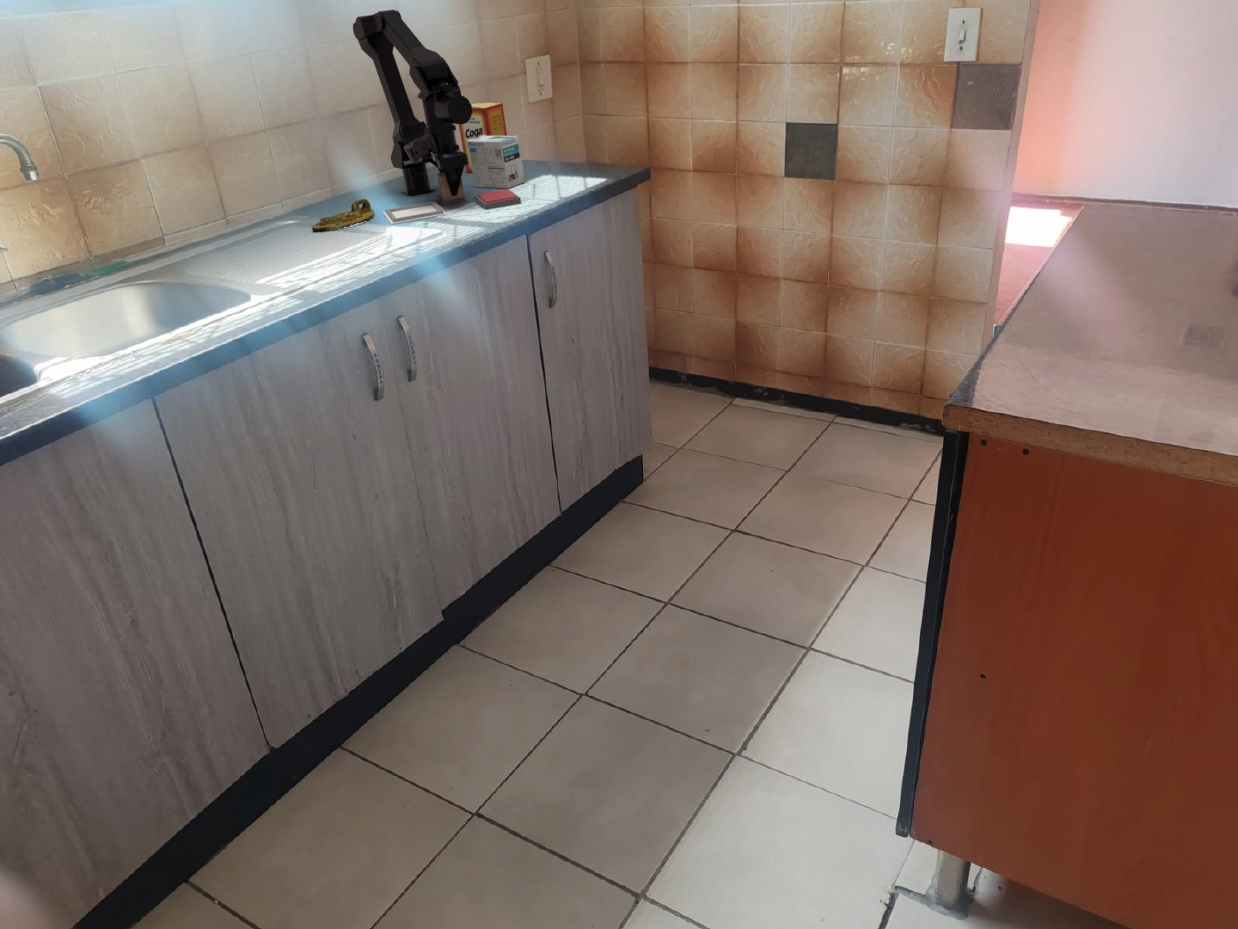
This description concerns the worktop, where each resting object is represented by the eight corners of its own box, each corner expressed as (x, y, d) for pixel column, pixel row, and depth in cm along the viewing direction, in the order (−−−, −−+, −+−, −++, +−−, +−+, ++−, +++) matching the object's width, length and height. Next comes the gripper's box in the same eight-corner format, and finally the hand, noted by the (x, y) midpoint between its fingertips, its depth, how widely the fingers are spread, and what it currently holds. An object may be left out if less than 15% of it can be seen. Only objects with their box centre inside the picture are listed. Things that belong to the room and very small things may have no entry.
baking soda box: (467, 172, 235) (455, 106, 228) (484, 167, 240) (473, 101, 232) (495, 174, 230) (484, 106, 223) (511, 168, 235) (502, 101, 227)
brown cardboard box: (441, 200, 211) (436, 173, 208) (461, 196, 212) (456, 170, 209) (445, 204, 207) (440, 176, 204) (465, 200, 208) (460, 173, 205)
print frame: (382, 213, 205) (382, 209, 205) (436, 203, 208) (435, 199, 208) (391, 224, 195) (390, 220, 195) (447, 214, 198) (446, 210, 198)
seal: (327, 241, 194) (386, 222, 203) (323, 219, 191) (383, 200, 200) (302, 231, 199) (361, 213, 208) (298, 209, 196) (357, 192, 205)
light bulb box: (526, 182, 219) (519, 134, 214) (508, 189, 215) (501, 140, 209) (491, 180, 225) (484, 134, 220) (473, 187, 220) (465, 139, 215)
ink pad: (474, 200, 207) (473, 193, 207) (509, 194, 210) (508, 187, 209) (485, 209, 199) (484, 202, 198) (521, 203, 201) (520, 196, 200)
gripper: (395, 121, 207) (409, 192, 214) (410, 132, 191) (424, 208, 199) (444, 113, 210) (456, 184, 217) (462, 124, 194) (475, 199, 202)
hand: (452, 193), depth 209 cm, fingers closed on brown cardboard box, 4 cm apart
